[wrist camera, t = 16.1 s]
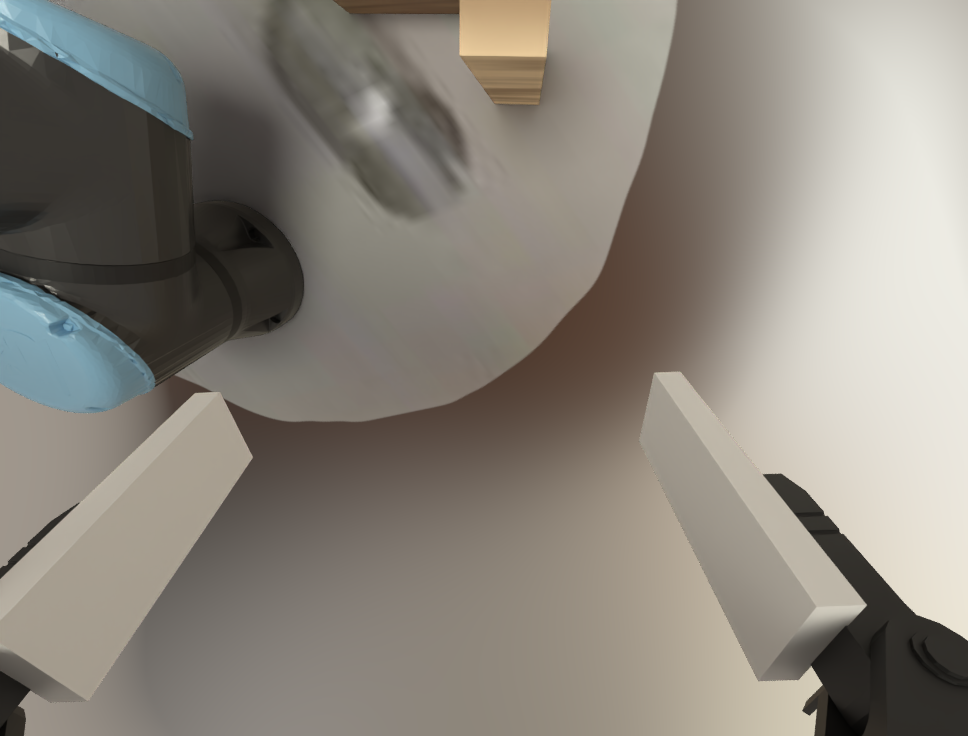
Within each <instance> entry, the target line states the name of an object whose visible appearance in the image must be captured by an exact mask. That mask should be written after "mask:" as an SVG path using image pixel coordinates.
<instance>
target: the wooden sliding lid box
mask: <svg viewBox="0 0 968 736" xmlns="http://www.w3.org/2000/svg"><path fill="white" fill-rule="evenodd" d="M333 1H334V2H336V3H337V4H338V5H340V6H341V7H342V8H344V9H345V10H346V11H347V12H349V13H367V14H460V0H333Z"/></svg>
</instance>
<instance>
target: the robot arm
mask: <svg viewBox="0 0 968 736" xmlns="http://www.w3.org/2000/svg"><path fill="white" fill-rule="evenodd" d="M190 140H193V133H192V131H191V130H190V129H189V122H188V113H187V102H186V92H185V85H184V82H183V79H182V77H181V75H180V73H179V71H178V70H177V68H176V67H175V65H174V64H173V63H172V62H171V61H170V60H169V59H168V58H167V57H166V56H165V55H164V54H162V53H161V52H160V51H158V50H156V49H155V48H153V47H151V46H149V45H147V44H145V43H142V42H140V41H138V40H136V39H134V38H131V37H129V36H127V35H125V34H123V33H120V32H118V31H116V30H114V29H111V28H109V27H107V26H105V25H102V24H100V23H98V22H96V21H93V20H91V19H89V18H87V17H85V16H82V15H80V14H78V13H76V12H73V11H71V10H69V9H66V8H64V7H62V6H60V5H57V4H55V3H53V2H50V1H48V0H0V383H1V384H2V385H4V386H5V387H7V388H9V389H11V390H13V391H14V392H16V393H18V394H20V395H22V396H24V397H26V398H28V399H30V400H32V401H35V402H37V403H40V404H43V405H45V406H49V407H52V408H55V409H59V410H63V411H67V412H74V413H97V412H103V411H107V410H110V409H113V408H115V407H117V406H119V405H121V404H123V403H125V402H126V401H128V400H130V399H132V398H134V397H136V396H137V395H142V394H145V393H148V392H150V391H151V390H152V389H154V387H156V386H157V385H159V384H161V383H162V382H164V381H165V380H167V379H168V378H170V377H171V376H173V375H175V374H176V373H178V372H179V371H181V370H182V369H184V368H185V367H187V366H188V365H190V364H192V363H193V362H195V361H196V360H198V359H199V358H201V357H202V356H204V355H206V354H207V353H209V352H210V351H212V350H213V349H215V348H216V347H218V346H219V345H221V344H223V343H224V342H226V341H228V340H233V339H240V338H246V337H252V336H259V335H263V334H266V333H269V332H271V331H274V330H275V329H277V328H279V327H280V326H282V325H283V324H284V323H286V322H287V321H289V320H290V319H291V318H292V317H293V316H294V314H295V313H296V312H297V310H298V308H299V306H300V303H301V300H302V296H303V276H302V271H301V268H300V264H299V262H298V259H297V257H296V254H295V252H294V251H293V249H292V247H291V245H290V244H289V242H288V241H287V239H286V238H285V237H284V235H283V234H282V233H281V232H280V231H279V230H278V229H277V228H276V227H275V226H274V225H273V224H272V223H271V222H270V221H269V220H268V219H266V218H265V217H264V216H262V215H261V214H259V213H258V212H256V211H254V210H252V209H250V208H248V207H246V206H244V205H241V204H238V203H234V202H230V201H222V200H216V201H208V202H201V203H195V204H193V185H192V164H191V144H190ZM639 442H640V444H641V446H642V448H643V450H644V452H645V454H646V456H647V458H648V460H649V462H650V464H651V467H652V468H653V471H654V473H655V475H656V476H657V479H658V481H659V482H660V485H661V487H662V489H663V491H664V493H665V495H666V497H667V499H668V501H669V503H670V504H671V507H672V509H673V511H674V513H675V515H676V517H677V519H678V521H679V523H680V525H681V527H682V529H683V531H684V533H685V535H686V537H687V539H688V541H689V543H690V545H691V547H692V549H693V551H694V553H695V555H696V557H697V559H698V561H699V563H700V565H701V567H702V569H703V571H704V573H705V575H706V577H707V579H708V581H709V583H710V585H711V587H712V589H713V591H714V593H715V595H716V597H717V599H718V601H719V603H720V605H721V607H722V609H723V611H724V613H725V615H726V617H727V619H728V621H729V623H730V625H731V627H732V629H733V631H734V633H735V635H736V637H737V639H738V641H739V644H740V646H741V648H742V649H743V651H744V654H745V656H746V658H747V660H748V662H749V664H750V666H751V668H752V669H753V672H754V674H755V676H756V678H757V680H758V681H772V680H773V681H776V680H799V679H800V678H801V677H802V675H803V674H804V673H805V672H806V671H807V670H808V669H809V668H810V667H811V666H812V668H813V669H814V671H815V672H816V674H817V676H818V677H819V679H820V681H821V682H822V684H823V685H822V686H821V687H820V688H819V689H818V690H817V691H816V693H815V694H813V695H812V696H811V697H810V698H809V699H808V700H807V701H806V704H805V706H804V708H803V710H802V711H803V712H805V713H806V714H808V715H811V713H813V712H814V711H815V710H816V709H817V716H816V725H815V735H814V736H968V641H967V640H966V639H965V638H963V637H962V636H960V635H958V634H957V633H955V632H953V631H952V630H950V629H948V628H947V627H945V626H943V625H941V624H940V623H937V622H935V621H932V620H929V619H926V618H923V617H921V616H917V615H916V614H915V613H914V612H913V611H912V610H911V609H910V608H909V607H908V606H907V605H906V604H905V603H904V602H903V601H902V600H901V599H900V598H899V596H898V595H897V594H896V593H895V592H894V591H893V590H892V588H891V587H890V586H889V585H888V584H887V583H886V582H885V581H884V579H883V578H882V577H881V576H880V575H879V574H878V573H877V571H875V569H874V568H873V567H872V566H871V565H870V564H869V563H868V561H867V560H866V559H865V558H864V557H863V556H862V554H861V553H860V552H859V551H858V550H857V549H856V548H855V547H854V545H853V544H852V543H851V542H850V541H849V540H848V539H847V538H846V536H845V535H844V534H841V533H840V532H839V528H838V527H837V526H836V525H835V524H834V523H833V522H832V520H831V519H830V518H829V517H828V516H825V515H824V511H823V510H822V509H821V508H820V507H819V506H818V504H817V503H816V502H815V501H814V500H813V499H812V498H811V497H810V495H809V494H808V493H807V492H806V491H805V490H803V489H802V488H801V487H799V486H798V485H796V484H795V483H794V482H792V481H791V480H789V479H788V478H786V477H785V476H784V475H782V474H762V473H761V472H760V471H759V470H758V468H757V467H756V466H755V464H754V463H753V462H752V461H751V459H750V458H749V457H748V456H747V454H746V453H745V452H744V451H743V449H742V448H741V447H740V446H739V445H738V443H737V442H736V441H735V439H734V438H733V437H732V436H731V434H729V432H728V431H727V429H726V428H725V427H724V426H723V425H722V423H721V422H720V421H719V419H718V418H717V417H716V416H715V415H714V413H713V412H712V411H711V410H710V408H709V407H708V406H707V404H706V403H705V402H704V401H703V400H702V398H701V397H700V396H699V395H698V393H697V392H696V391H695V389H694V388H693V387H692V386H691V384H690V383H689V382H688V381H687V380H686V378H685V377H684V376H683V375H682V374H681V372H660V373H654V376H653V381H652V386H651V390H650V395H649V399H648V403H647V408H646V412H645V417H644V422H643V426H642V431H641V435H640V440H639ZM252 458H253V457H252V455H251V453H250V451H249V449H248V447H247V445H246V443H245V441H244V439H243V437H242V435H241V433H240V431H239V429H238V427H237V425H236V423H235V421H234V419H233V417H232V415H231V413H230V411H229V409H228V407H227V405H226V403H225V401H224V399H223V397H222V395H221V393H220V392H209V393H195V394H194V395H193V396H192V397H190V398H189V399H188V400H187V401H186V402H185V403H184V404H183V405H182V406H181V407H180V408H179V409H178V410H177V411H176V412H175V413H174V414H173V415H172V416H171V417H170V418H168V419H167V420H166V421H165V422H164V423H163V424H162V425H161V426H160V427H159V428H158V429H157V430H156V431H155V432H154V433H153V434H152V435H151V436H150V437H149V438H148V439H147V440H145V441H144V442H143V443H142V444H141V445H140V446H139V447H138V448H137V449H136V450H135V451H134V452H133V453H132V454H131V455H130V456H129V457H128V458H127V459H126V460H124V461H123V463H121V464H120V465H119V466H118V467H117V468H116V469H115V470H114V471H113V472H112V473H111V474H110V475H109V476H108V477H107V478H106V479H105V480H104V481H102V482H101V483H100V484H99V485H98V486H97V487H96V488H95V489H94V490H93V491H92V492H91V493H90V494H89V495H88V496H87V497H86V498H85V499H84V500H83V501H82V502H81V503H78V504H76V505H75V506H73V507H72V508H70V509H69V510H67V511H66V512H64V513H63V514H61V515H60V516H58V517H57V518H55V519H54V520H52V521H51V522H50V523H49V524H47V525H46V526H45V527H44V528H43V529H42V530H41V531H40V532H39V533H38V534H37V535H36V536H35V537H33V538H32V539H31V540H30V541H29V542H28V546H27V547H23V548H22V549H21V550H20V551H19V552H17V553H16V554H15V555H14V556H13V557H12V558H11V559H10V560H9V561H8V565H7V566H3V567H1V568H0V736H24V730H25V722H26V718H25V712H24V709H22V708H21V707H19V706H18V705H19V704H20V702H21V701H22V700H23V699H24V697H25V696H26V695H27V694H28V692H29V691H32V692H34V693H35V694H37V695H39V696H40V697H42V698H44V699H46V700H47V701H49V702H80V701H81V702H82V701H89V699H90V698H91V696H92V695H93V693H94V692H95V690H96V689H97V688H98V686H99V684H100V683H101V682H102V680H103V679H104V677H105V676H106V674H107V673H108V671H109V670H110V668H111V667H112V665H113V664H114V662H115V661H116V659H117V658H118V656H119V655H120V653H121V652H122V650H123V649H124V648H125V646H126V645H127V643H128V642H129V640H130V639H131V637H132V636H133V634H134V633H135V631H136V630H137V628H138V627H139V625H140V624H141V622H142V621H143V619H144V618H145V616H146V615H147V613H148V612H149V610H150V609H151V608H152V606H153V604H154V603H155V602H156V600H157V599H158V597H159V595H160V594H161V593H162V591H163V590H164V588H165V587H166V585H167V584H168V582H169V581H170V579H171V578H172V576H173V575H174V573H175V572H176V571H177V569H178V568H179V566H180V564H181V563H182V562H183V560H184V559H185V557H186V556H187V554H188V553H189V551H190V550H191V548H192V547H193V545H194V544H195V542H196V541H197V539H198V538H199V536H200V535H201V533H202V532H203V530H204V529H205V527H206V526H207V524H208V523H209V522H210V520H211V519H212V517H213V516H214V514H215V513H216V511H217V510H218V508H219V507H220V505H221V504H222V502H223V501H224V499H225V498H226V496H227V495H228V494H229V492H230V491H231V489H232V488H233V486H234V484H235V483H236V482H237V480H238V479H239V477H240V476H241V474H242V473H243V471H244V470H245V468H246V467H247V465H248V464H249V462H250V461H251V459H252Z"/></svg>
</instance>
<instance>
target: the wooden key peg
mask: <svg viewBox="0 0 968 736" xmlns="http://www.w3.org/2000/svg"><path fill="white" fill-rule="evenodd" d="M550 8H551V0H460V57H461V58H462V59H463V61H464V62H465V64H466V65H467V66H468V68H469V69H470V70H471V72H472V73H473V75H474V76H475V77H476V79H477V80H478V81H479V83H480V84H481V85H482V87H483V88H484V90H485V91H486V92H487V94H488V95H489V96H490V98H491V99H492V101H493V102H494V103H495V104H526V105H539V101H540V95H541V88H542V82H543V75H544V69H545V62H546V55H547V43H548V31H549V20H550Z"/></svg>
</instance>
